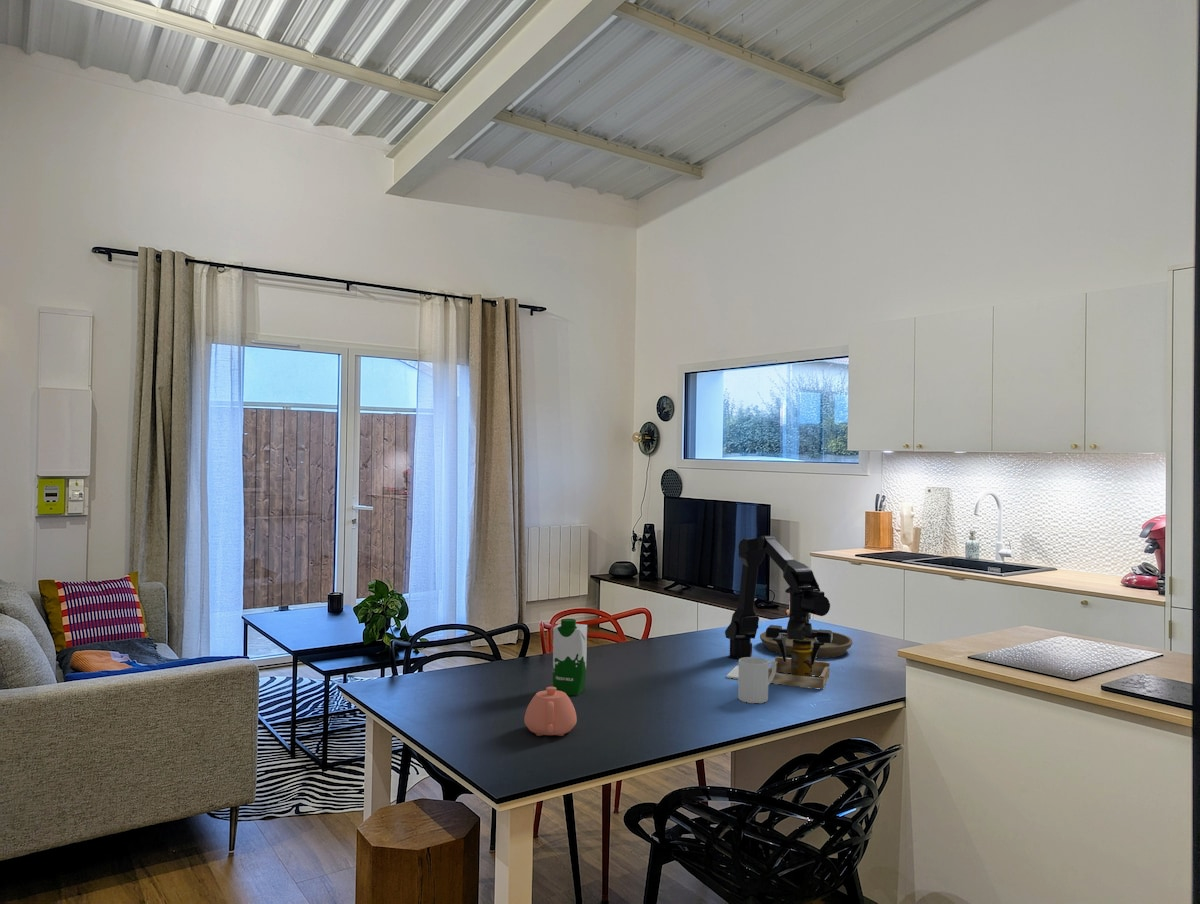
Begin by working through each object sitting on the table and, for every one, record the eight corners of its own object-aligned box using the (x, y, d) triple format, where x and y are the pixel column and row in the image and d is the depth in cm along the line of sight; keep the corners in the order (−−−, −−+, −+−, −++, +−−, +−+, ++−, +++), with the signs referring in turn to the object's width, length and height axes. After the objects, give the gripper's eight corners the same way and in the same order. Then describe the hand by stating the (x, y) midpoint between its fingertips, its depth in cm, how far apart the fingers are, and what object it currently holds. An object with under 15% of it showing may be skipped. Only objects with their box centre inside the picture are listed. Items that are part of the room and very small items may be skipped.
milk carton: (549, 694, 221) (550, 620, 221) (559, 685, 230) (560, 614, 230) (579, 697, 218) (581, 622, 219) (589, 688, 227) (590, 616, 227)
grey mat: (726, 677, 241) (726, 675, 241) (736, 667, 254) (736, 665, 254) (759, 681, 237) (759, 679, 237) (768, 670, 250) (768, 668, 250)
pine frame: (766, 683, 236) (766, 667, 236) (775, 671, 250) (775, 656, 250) (823, 689, 230) (823, 673, 230) (829, 677, 244) (829, 662, 244)
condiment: (817, 683, 237) (817, 642, 237) (789, 684, 236) (789, 642, 236) (807, 676, 244) (807, 636, 244) (780, 677, 243) (780, 637, 243)
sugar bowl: (576, 723, 197) (577, 680, 197) (576, 743, 183) (577, 697, 183) (525, 722, 196) (526, 680, 197) (522, 742, 182) (522, 696, 183)
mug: (753, 705, 214) (753, 665, 214) (732, 698, 220) (732, 659, 220) (785, 698, 221) (785, 659, 221) (763, 691, 227) (764, 654, 227)
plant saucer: (755, 656, 271) (755, 642, 271) (764, 637, 301) (764, 625, 301) (852, 664, 262) (852, 649, 262) (852, 644, 292) (852, 631, 292)
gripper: (762, 611, 236) (761, 665, 236) (828, 617, 229) (828, 673, 229) (769, 605, 247) (768, 657, 246) (833, 611, 240) (832, 664, 239)
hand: (798, 663), depth 240 cm, fingers open, 8 cm apart
